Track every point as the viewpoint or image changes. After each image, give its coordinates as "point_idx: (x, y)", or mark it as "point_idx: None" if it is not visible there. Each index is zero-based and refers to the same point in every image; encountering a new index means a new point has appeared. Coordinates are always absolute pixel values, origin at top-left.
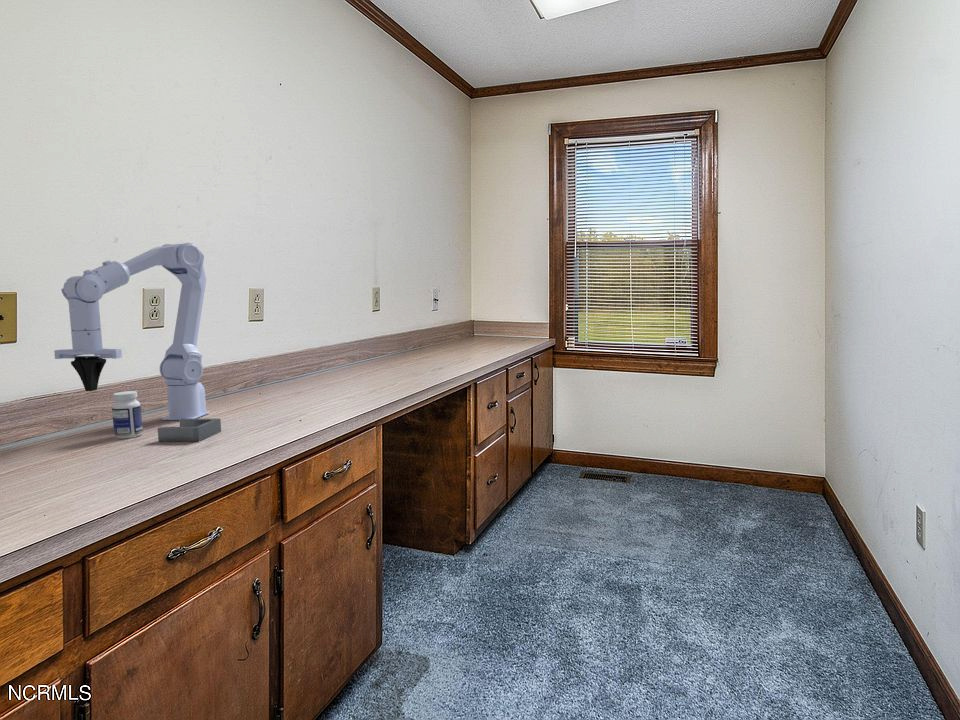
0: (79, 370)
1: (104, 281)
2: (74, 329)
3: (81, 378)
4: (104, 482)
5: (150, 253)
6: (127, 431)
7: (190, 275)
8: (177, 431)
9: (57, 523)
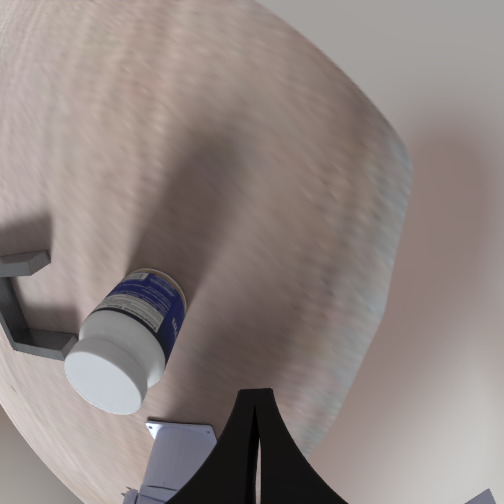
0: (287, 481)
1: None
2: None
3: (282, 437)
4: (7, 19)
5: None
6: (122, 280)
7: None
8: (5, 261)
9: None
